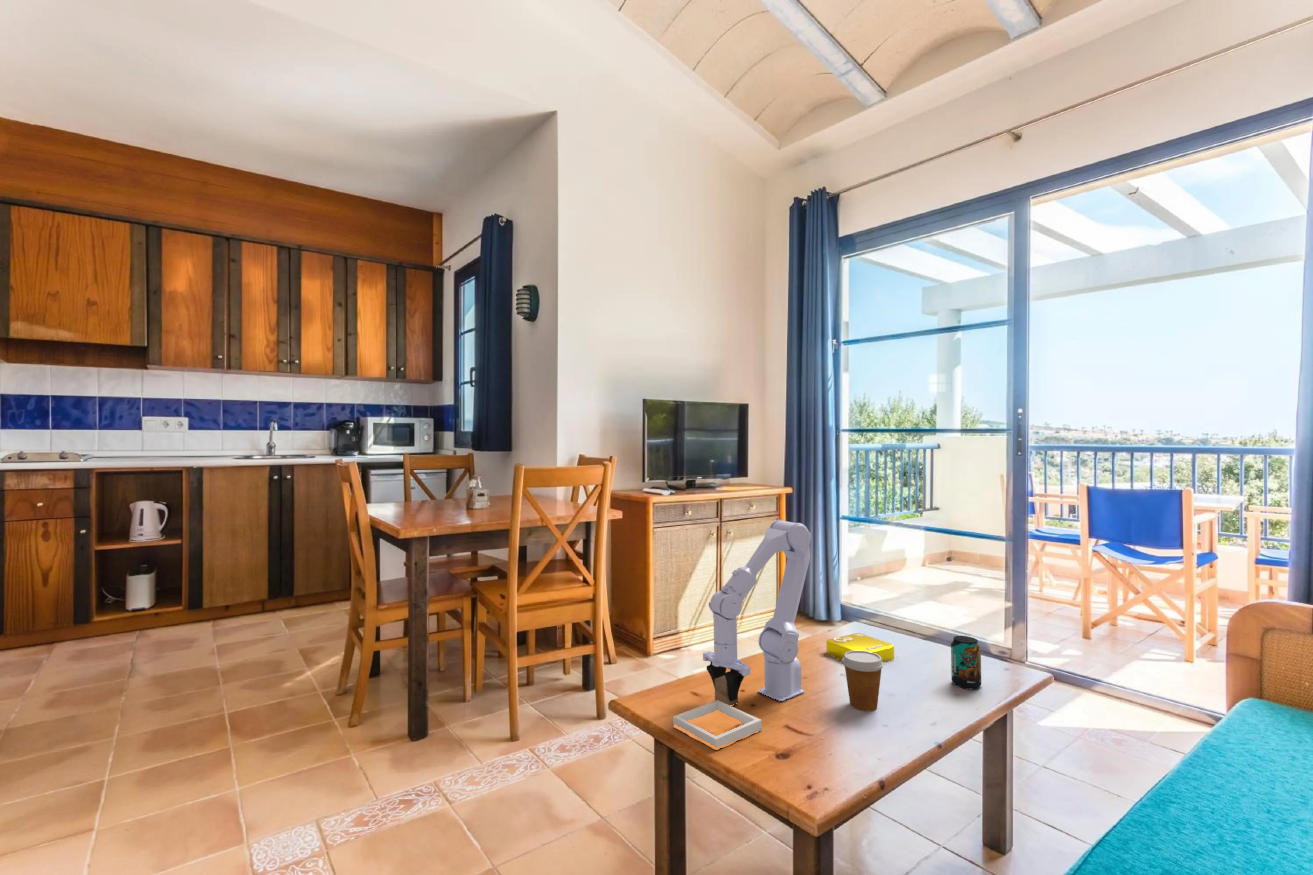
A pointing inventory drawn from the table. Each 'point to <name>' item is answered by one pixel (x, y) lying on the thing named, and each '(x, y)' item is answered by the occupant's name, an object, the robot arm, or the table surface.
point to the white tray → (748, 728)
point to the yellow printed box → (859, 646)
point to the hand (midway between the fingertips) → (726, 696)
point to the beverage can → (966, 662)
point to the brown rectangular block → (723, 691)
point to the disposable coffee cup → (863, 678)
